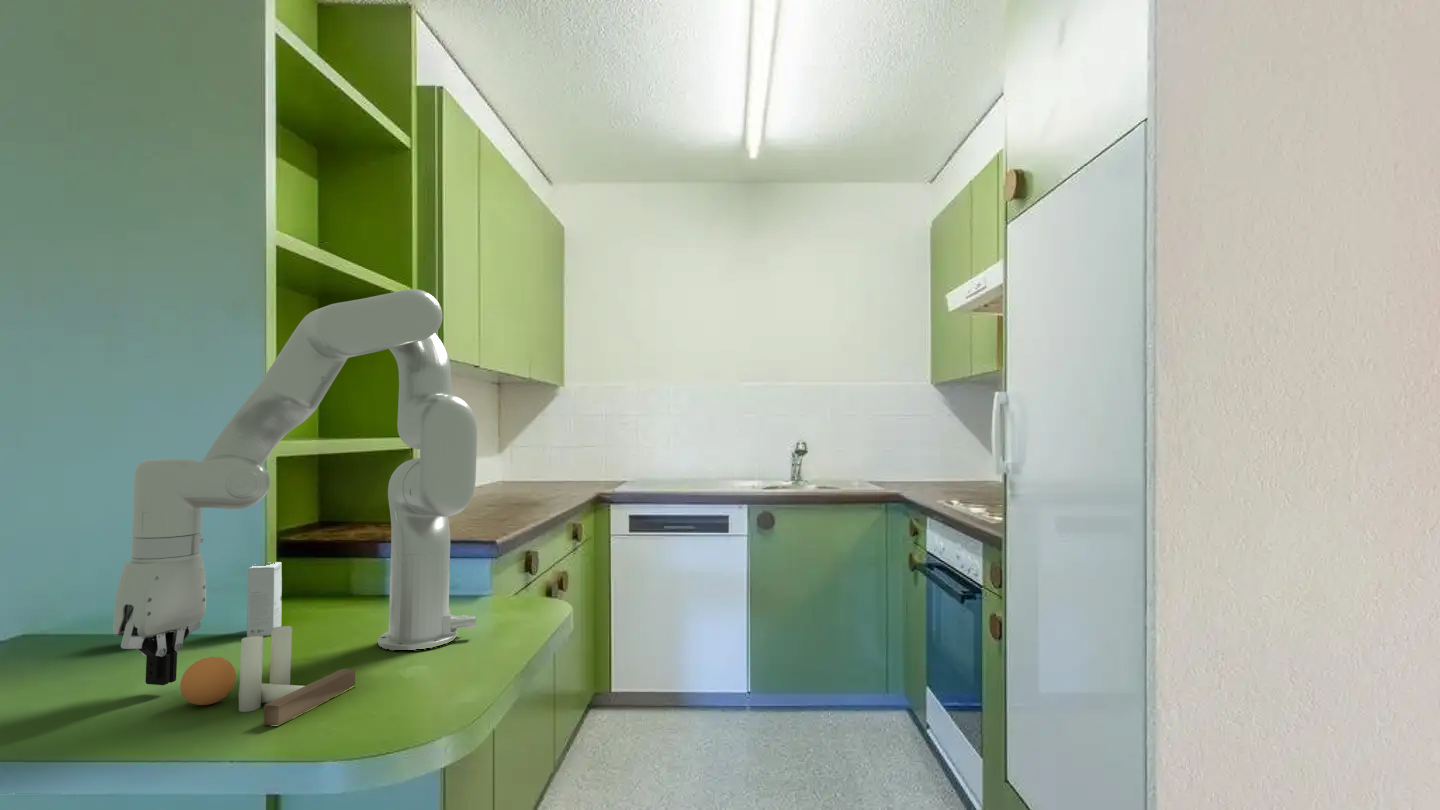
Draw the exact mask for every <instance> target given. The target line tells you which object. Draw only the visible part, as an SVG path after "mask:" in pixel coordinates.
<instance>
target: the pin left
mask: <svg viewBox="0 0 1440 810" xmlns="http://www.w3.org/2000/svg"><path fill="white" fill-rule="evenodd" d="M263 652H264V636H250V637H248V636H246V637H243V638H241V642H240V661H239V662H240V663H239V664H240V666H239V690H238V693H239V698H238V712H241V713H247V712H253V711H257V710H259V709H260V708H261V707H262V706H261V705H262V703H261V684H262V683H263V682H262V680H263V678H262V677H263V655H264V654H263Z"/></svg>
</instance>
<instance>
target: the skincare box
mask: <svg viewBox="0 0 1440 810" xmlns="http://www.w3.org/2000/svg"><path fill="white" fill-rule="evenodd" d="M274 562H275V564H274V563H273V564H270V565H266V566H253V565H251V566H252V567H251V566H250V567H248V569H247V600H246V601H247V605H246V606H247V609H246V611H247V613H246V614H247V615H246V618H247V619H246V637H250V636H263V637H268V636H269V637H270V636H271V633H272V629H273V628H275V627H280V626H282V614H283V613H282V611H283V610H282V608H283V607H282V606H283V605H282V602H283V601H282V593H283V592H282V591H283V589H282V588H283V586H282V585H283V577H282V575H283V574H282V572H283V571H282V568H283V567H282V564H283V563H282V561H274Z"/></svg>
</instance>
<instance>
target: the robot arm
mask: <svg viewBox="0 0 1440 810" xmlns="http://www.w3.org/2000/svg"><path fill="white" fill-rule="evenodd" d="M442 322H443V310H442V307H441V305H440V303H439V301H438V300H437V299H436V298H435V297H434V296H433V295H432V294H430V293H429V292H427V291H425V290H422V289H415V288H408V289H403V290H399V291H394V292H389V293H384V294H379V295H375V296H368V297H364V298H360V299H353V300H348V301H342V302H336V303H331V304H328V305H326V306H323V307H320V308H317V309H315V310H313V311H310V312H309V313H308V314H306V315H305V316H304V317H303V318H302V320H301V321H300V322H299V324H298V325H297V327H296V328H295V329H294V331H293V332H292V333H291V335H290V336H289V338H288V340H287V341H286V342H285V344H284V345H283V347H282V349H281V351H280V352H279V354H278V355H277V356H276V358H275V360H274V361H273V362H272V365H271V366H269V368H268V369H267V372H266V373H265V375H264V376H263V377H262V379H261V380H260V382H259V383H258V384H257V386H256V387H255V388H254V389H253V391H252V392H251V393H250V395H249V396H248V397H247V398H246V400H245V401H244V402H243V404H242V405H241V406H240V408H239V409H238V410H237V412H236V413H235V414H234V415H233V416H232V417H231V418H230V420H229V421H228V423H227V424H226V426H225V427H224V428H223V430H222V431H221V432H220V433H219V435H218V437H217V438H216V439H215V442H213V444H212V445H211V447H210V448H209V449H208V452H207V453H206V454H205V456H204V457H203V459H202V460H199V461H198V460H196V459H191V458H153V459H145V460H142V461H141V462H140V463H138V464H137V465H136V468H135V471H134V482H133V483H134V484H133V486H134V487H133V504H132V505H133V507H132V527H131V529H132V531H131V549H130V550H131V551H130V561H126V562H124V563H123V564H124V565H123V567H122V571H121V574H120V577H119V580H118V585H117V590H116V596H115V602H114V603H115V604H114V609H113V610H114V612H113V620H112V622H113V623H112V624H113V625H112V631H113V634H114V636H117V637H122V639H121V644H120V648H121V649H123V650H124V649H127V650H130V649H131V650H133V649H134V650H139V651H140V652H141V653H140V654H141V655H142V656H146V662H145V684H146V685H150V686H151V685H152V686H154V685H155V686H166V685H167V684H169V683H170V684H171V683H174V682H176V680H177V669H178V663H177V662H178V652H180V651H181V650H182V649H183V643H184V642H185V640H186V638H187V637H188V635H191V634H192V633H193V632H195V631H197V630H199V629H200V628H201V626H202V625H201V621H202V620H203V619H204V617H205V615H206V606H207V581H206V570H205V563H204V559H203V554H202V553H200V551H201V544H203V542H204V537H203V535H201V531H202V529H201V527H202V526H201V525H202V508H203V509H204V508H205V509H225V510H240V509H241V510H242V509H247V508H250V507H253V506H254V505H256V504H258V503H259V502H261V501H262V500H263V499H264V498H265V496H266V495H267V494H268V493H269V490H270V488H271V478H270V474H269V472H268V470H267V469H266V468H265V466H264V464H265V463H266V462H265V461H266V460H267V459H268V458H269V456H270V455H271V453H272V452H273V450H274V449H275V448H276V447H277V446H278V444H279V443H280V441H282V440H283V438H285V437H286V435H287V434H289V433H290V432H291V431H292V430H294V429H295V428H297V427H298V426H299V425H302V424H303V423H304V422H305V421H306V420H307V419H309V418H310V417H311V416H312V415H313V413H315V412H316V410H317V409H318V408H319V406H320V403H321V402H322V401H323V399H324V397H325V395H326V394H327V392H328V391H329V389H330V388H331V386H332V384H333V382H334V381H335V380H336V378H337V376H338V375H339V373H340V372H341V370H342V368H343V367H344V365H345V364H346V362H347V361H348V359H349V358H353V357H359V356H365V355H367V354H368V355H369V354H372V353H377V352H381V351H382V352H383V351H385V350H389V351H390V353H392V355H393V358H394V359H395V361H396V364H397V369H398V386H399V387H398V405H397V406H398V407H397V423H396V425H397V433H398V435H399V439H400V440H401V442H403V444H405V445H406V446H407V447H409V448H411V449H413V450H414V449H415V450H419V457H415V458H411V459H409V460H406V461H404V462H403V463H401V464H400V465H399V466H398V467H396V468H395V470H394V471H393V472H392V474H391V476H390V479H389V481H388V487H387V499H388V506H389V514H390V516H389V517H390V527H391V528H390V529H391V532H390V534H391V537H390V538H391V541H390V542H391V543H390V544H391V545H390V546H391V547H390V568H389V569H390V570H389V571H390V572H389V574H390V575H389V605H388V609H389V610H388V611H389V612H388V614H389V615H388V631H387V632H384V633H383V634H381V635H380V636H379V637H378V641H377V642H378V643H377V644H378V646H379V647H380V648H381V647H382V649H384V650H387V649H389V650H388V651H394V650H408V649H409V650H410V649H419V648H426V647H431V646H437V645H440V644H443V643H446V642H448V641H450V640H452V639H454V638H455V637H456V636H457V637H458V630H457V629H461V628H464V629H466V628H468V629H469V628H476V627H477V616H476V615H470V616H469V614H461V615H455V614H452V613H451V608H450V607H449V606H450V605H449V604H450V567H451V566H450V562H451V528H450V521H449V517H453V516H455V515H458V514H459V513H461V512H462V511H463V510H464V509H466V508H467V507H468V505H469V504H470V502H471V500H472V499H473V496H474V494H475V493H474V492H475V487H476V479H477V476H476V475H477V474H476V473H477V449H478V446H477V445H478V425H477V421H476V417H475V414H474V411H473V409H472V407H471V406H469V404H468V403H467V401H465V400H463V399H462V398H460V397H459V396H455V395H453V394H452V375H451V373H452V372H451V371H452V370H451V361H450V357H449V354H448V352H447V349H446V347H445V345H444V343H443V342H442V340H441V338H439V335H437V334H436V333H437V332H438V331H439V329H440V328H441V325H442Z"/></svg>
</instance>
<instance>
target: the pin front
mask: <svg viewBox="0 0 1440 810" xmlns="http://www.w3.org/2000/svg"><path fill="white" fill-rule="evenodd" d="M304 686H305V685H300V684H299V685H296V684H295V685H294V684H290V685H282V684H270V683H263V682H262V684H261V704H268V703H270V702H272V701H274V700H276V699H279V698H281V697H283V696H285V695H287V694H289V693H291V692H294V691H296V690H298V689H300V688H302V687H304ZM237 695H238V696H237V698H238V699H239V692H238V694H237Z"/></svg>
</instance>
